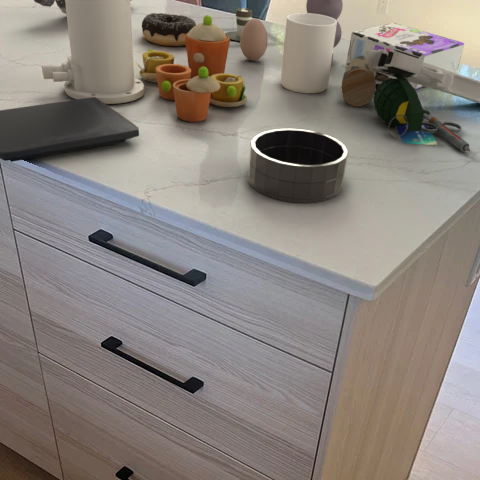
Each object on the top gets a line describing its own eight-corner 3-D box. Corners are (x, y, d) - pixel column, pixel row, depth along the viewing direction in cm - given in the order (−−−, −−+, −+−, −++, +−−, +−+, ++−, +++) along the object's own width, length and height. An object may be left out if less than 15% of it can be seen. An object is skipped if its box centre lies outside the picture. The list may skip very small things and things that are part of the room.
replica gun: (355, 43, 104) (349, 65, 106) (393, 46, 91) (385, 71, 93) (501, 90, 113) (493, 110, 114) (555, 99, 99) (545, 121, 101)
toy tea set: (131, 72, 110) (128, 7, 103) (216, 69, 114) (218, 6, 107) (172, 128, 93) (171, 54, 86) (269, 121, 97) (276, 51, 90)
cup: (294, 95, 107) (302, 26, 99) (262, 74, 114) (267, 8, 107) (336, 91, 109) (346, 24, 102) (302, 71, 117) (309, 7, 110)
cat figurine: (344, 66, 120) (356, -9, 112) (307, 67, 118) (316, -9, 110) (325, 53, 126) (336, -19, 117) (289, 54, 124) (297, -20, 115)
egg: (252, 54, 122) (255, 14, 118) (271, 61, 120) (275, 20, 115) (233, 58, 120) (235, 17, 115) (252, 66, 117) (255, 23, 112)
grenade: (362, 113, 103) (393, 145, 95) (368, 68, 98) (401, 99, 90) (397, 108, 104) (431, 140, 96) (405, 64, 99) (441, 94, 91)
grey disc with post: (227, 46, 126) (229, 17, 122) (205, 30, 133) (206, 2, 130) (281, 43, 130) (284, 15, 126) (257, 28, 137) (259, 1, 134)
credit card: (393, 123, 100) (393, 122, 100) (426, 125, 101) (426, 124, 101) (403, 143, 94) (403, 143, 94) (438, 145, 95) (438, 145, 95)
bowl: (269, 207, 76) (272, 170, 73) (235, 166, 84) (237, 131, 81) (358, 197, 80) (365, 162, 77) (317, 159, 88) (322, 125, 84)
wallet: (144, 143, 88) (95, 108, 96) (143, 129, 86) (93, 95, 95) (2, 171, 79) (-38, 130, 87) (-1, 155, 77) (-41, 115, 86)
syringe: (451, 161, 90) (455, 149, 89) (393, 115, 102) (396, 103, 101) (495, 161, 93) (500, 149, 91) (433, 115, 104) (437, 104, 103)
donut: (156, 50, 121) (156, 26, 118) (132, 34, 128) (130, 11, 125) (207, 45, 125) (208, 22, 122) (181, 30, 132) (181, 8, 129)
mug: (348, 63, 101) (352, 47, 109) (335, 99, 104) (340, 80, 113) (394, 80, 101) (395, 63, 110) (380, 115, 105) (381, 96, 113)
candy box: (425, 54, 109) (350, 31, 117) (416, 91, 113) (344, 66, 121) (465, 41, 116) (392, 20, 124) (456, 76, 121) (385, 54, 128)
